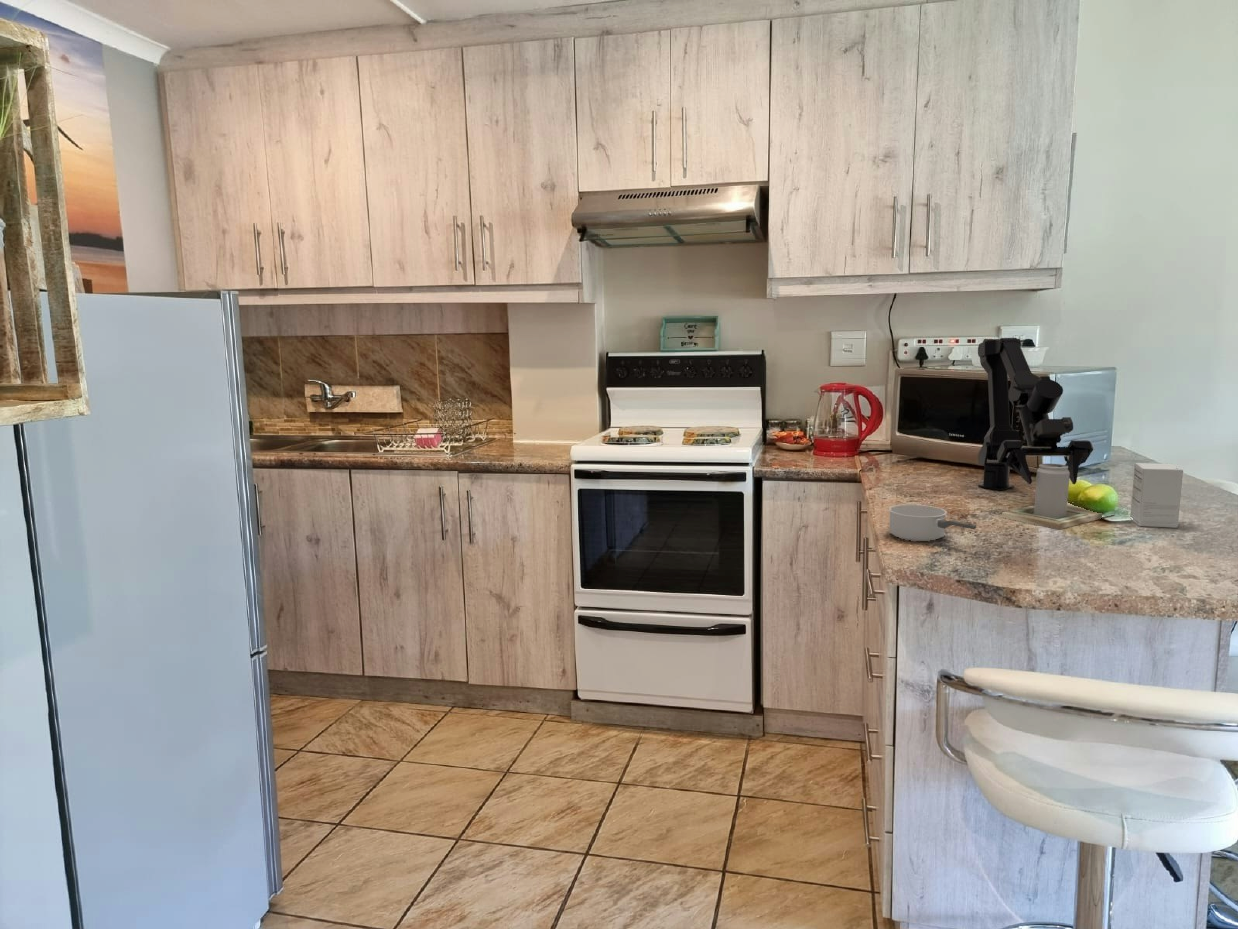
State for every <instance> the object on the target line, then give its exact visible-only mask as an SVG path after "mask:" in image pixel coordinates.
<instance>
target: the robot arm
mask: <svg viewBox="0 0 1238 929" xmlns="http://www.w3.org/2000/svg"><path fill="white" fill-rule="evenodd" d="M1021 342H1022V341H1021V340H1020V338H1017V337H1000V338H984V339H983V341H982V342H981V343H979V344H978V347H977V356H978V357H979V361H980V366H981V367H982V369H983V370H984V371H985V372H986V374H987V385H988V386H987V387H988V388H987V389H988V406H989V408H988V409H989V426H990V427H989V429H988V431H987V432H986V434H985V435H984V438H983V443H982V446H981V447H980V450H979V452H978V454H977V462H978V464H979V465H981V466H984V470H983V481H982V483H980V484H977V486H978V488H984V489H989V490H997V491H1003V490H1004V491H1005V490H1008V489H1009V490H1010V489H1014V488H1015V485H1011V484H1010V473H1011V472H1010V470H1011V469H1012V470H1013V471H1015V472H1016V473H1017V474H1018V475H1019V476H1020V477H1021V478H1022V479H1023V480H1024V481H1025V482H1026V483H1027V484H1028V485H1031V484H1032V483H1033V479H1032V475H1031V470H1030V467H1029V465H1028V461H1027V456H1037V457H1063V458H1064V461H1065V464H1064V465H1066V466H1068V470H1069V472H1070V476H1069V481H1070V482H1071V484H1072V485H1076V483H1077V480H1078V475H1079V474H1078V473H1079V468H1080V466H1081V465H1083V464H1084V463H1086V462H1087V460H1088V459H1089V457H1090V456H1091V454H1092V453H1093V451H1094V447H1093V444H1092V442H1091V441H1090V440H1085V439H1084V440H1083V439H1081V440H1079V439H1074V440H1073V439H1072V440H1070V442H1069V443H1068V445H1067V446H1058V444H1059V443H1061V441H1062V437H1061V436H1063V435H1065V434H1069V433H1071V432H1072V431H1073V430H1074V422H1073V420H1072V417H1070V416H1069V417H1067V416H1066V417H1065V416H1064V417H1061V418H1050V417H1049V414H1050V413H1052V412H1053V411H1054V410H1055V408H1056V406H1057V404H1058V403H1059V400H1060V399H1061V397H1062V395H1063V394H1064V388H1063V386H1062V385H1061V384H1060V383H1058V382H1057V381H1055V380H1053V379H1051V377H1050V376H1049V375H1048V376H1046V375H1043V376H1042V375H1041V376H1038V375H1036V374H1034V373H1032V371H1031V368H1030V366H1029V364H1028V361H1027V360H1026V357H1025V355H1024V352H1023V350H1022V344H1021ZM1009 381H1010V387H1009ZM1010 402H1011V405H1012V406H1014V407H1021V408H1020V410H1019V416H1018V419H1017V420H1018V423H1021V425H1022V428H1023V432H1024V435H1023V437H1022V438H1023V440H1019V432H1018V430H1015V429H1013V427H1012V426H1011V416H1010V414H1011V413H1010ZM1023 441H1024V442H1026V443H1027V445H1024V444H1023V443H1024V442H1023Z"/></svg>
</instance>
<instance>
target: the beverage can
mask: <svg viewBox="0 0 1238 929" xmlns="http://www.w3.org/2000/svg"><path fill="white" fill-rule="evenodd" d="M1069 476H1070V472H1069V470H1068V466H1066V465H1065V464H1060V463H1040V464H1038V468H1037V469H1036V478H1035V479H1036V480H1035V493H1034V503H1033V504H1034V505H1033V506H1034V515H1039V516H1044V517H1049V518H1054V519H1061V518H1065V517H1066V513H1067V502H1069V501H1068V498H1069V485H1070V477H1069Z"/></svg>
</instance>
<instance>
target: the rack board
mask: <svg viewBox="0 0 1238 929" xmlns="http://www.w3.org/2000/svg"><path fill="white" fill-rule="evenodd" d="M1068 502H1069V501H1067V513H1066V517H1065V518H1061V519H1054V518H1049V517H1044V516H1039V515H1034V505H1028V506H1026V507H1022V508H1020V507H1019V508H1017V509H1011V510H1008V511H1003V512H1001V519H1005V518H1006V519H1007V520H1011V521H1015V520H1016V521H1015V522H1020V523H1023V524H1024V523H1025V524H1029V525H1034V524H1035V526H1039V527H1044V528H1049V527H1050V529H1053V530H1054V529H1055V530H1062V529H1067V528H1071V527H1074V526H1079V525H1082V524H1086V523H1090V522H1094V521H1097V520H1101V517H1102V513H1097V512H1093V511H1090V510H1086V509H1084V508H1081V507H1078V506H1074V505H1072V504H1070V503H1068ZM1006 519H1005V520H1006Z"/></svg>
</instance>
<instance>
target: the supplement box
mask: <svg viewBox="0 0 1238 929" xmlns="http://www.w3.org/2000/svg"><path fill="white" fill-rule="evenodd" d="M1183 474H1184V470H1183V469H1182V468H1181V467H1179V466H1177V465H1175V464H1173V463H1149V462H1148V463H1147V462H1146V463H1144V462H1141V463H1140V462H1134V468H1133V479H1132V490H1131V491H1132V493H1131V504H1130V515H1129V518H1130V517H1132V518H1133V520H1132V521H1133V522H1134V524H1136V525H1137V526H1138V527H1148V528H1149V527H1152V528H1173V529H1174V528H1175V529H1177V528H1179V518H1180V509H1181V508H1180V506H1181V498H1182V497H1181V495H1182V486H1183V477H1184V476H1183Z"/></svg>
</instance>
